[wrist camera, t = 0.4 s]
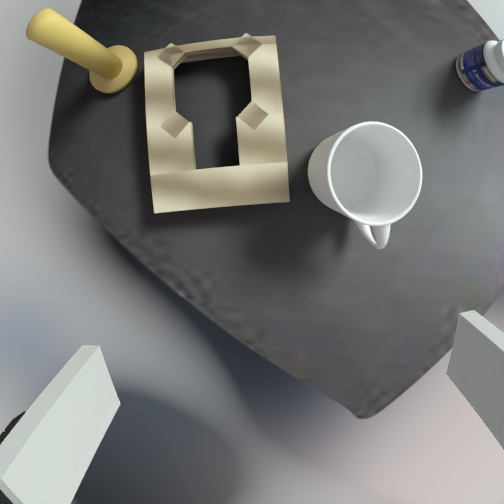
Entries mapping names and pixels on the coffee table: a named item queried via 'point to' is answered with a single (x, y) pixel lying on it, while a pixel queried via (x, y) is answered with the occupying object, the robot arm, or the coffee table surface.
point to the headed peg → (84, 51)
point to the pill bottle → (482, 66)
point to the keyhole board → (248, 132)
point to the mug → (367, 176)
